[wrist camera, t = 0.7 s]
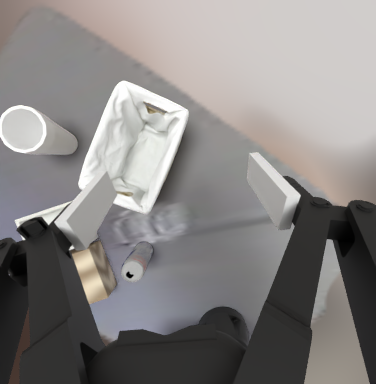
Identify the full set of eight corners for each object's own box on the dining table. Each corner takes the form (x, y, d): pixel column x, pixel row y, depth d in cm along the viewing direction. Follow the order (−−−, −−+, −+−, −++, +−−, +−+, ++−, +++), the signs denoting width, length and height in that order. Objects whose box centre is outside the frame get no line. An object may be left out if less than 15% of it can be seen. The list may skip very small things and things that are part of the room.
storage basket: (136, 107, 47) (115, 74, 33) (189, 130, 48) (193, 108, 34) (105, 186, 48) (72, 188, 34) (158, 207, 49) (148, 218, 35)
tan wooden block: (116, 283, 50) (108, 297, 44) (65, 301, 50) (49, 317, 44) (100, 240, 49) (88, 248, 43) (47, 258, 49) (29, 269, 43)
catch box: (98, 237, 49) (90, 242, 45) (46, 255, 49) (32, 262, 44) (83, 198, 48) (73, 200, 44) (30, 216, 48) (14, 220, 44)
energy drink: (131, 252, 50) (115, 274, 38) (141, 237, 50) (129, 255, 38) (146, 262, 50) (135, 287, 38) (156, 248, 50) (148, 269, 38)
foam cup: (84, 160, 48) (47, 152, 35) (50, 160, 47) (0, 153, 34) (82, 126, 47) (44, 105, 34) (48, 126, 47) (-4, 105, 34)
